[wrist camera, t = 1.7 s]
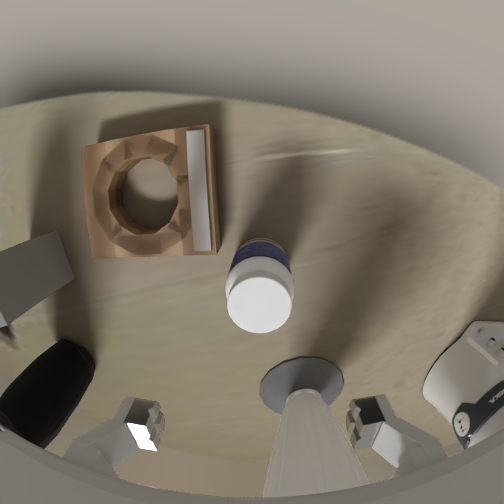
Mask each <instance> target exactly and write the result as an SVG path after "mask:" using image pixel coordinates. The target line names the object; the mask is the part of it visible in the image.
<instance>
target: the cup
mask: <svg viewBox="0 0 504 504" xmlns="http://www.w3.org/2000/svg"><path fill="white" fill-rule="evenodd" d="M343 384H344V381H343V377H342V372H341V371H340V370H339V369H338V368H337V367H336V366H335V365H334V364H333V363H331V362H328V361H325V360H323V359H320V358H297V359H293V360H290V361H286V362H283V363H281V364H280V365H278V366H277V367H275V368H273V369H272V370H270V371H269V372H268V373H267V375H266V376H265V378H264V379H263V380H262V382H261V385H260V396H261V398H262V400H263V402H264V404H265V405H266V406H267V407H269V408H270V409H271V410H273V411H274V412H276V413H280V414H282V416H281V419H280V422H279V425H278V429H277V433H276V437H275V441H274V445H273V448H272V453H271V458H270V462H269V467H268V472H267V476H266V481H265V485H264V491H263V496H262V497H286V496H299V495H309V494H317V493H325V492H331V491H338V490H343V489H349V488H354V487H358V486H363V485H367V484H370V482H369V480H368V478H367V476H366V473H365V471H364V469H363V467H362V465H361V463H360V461H359V459H358V457H357V455H356V453H355V451H354V450H353V447H352V445H351V443H350V441H349V439H348V438H347V436H346V434H345V432H344V431H343V429H342V427H341V426H340V424H339V422H338V421H337V419H336V417H335V416H334V414H333V413H332V411H331V410H330V409H329V407H328V406H329V405H331V404H332V403H333V402H334V401H335V399H336V398H337V397H338V396H339V395H340V393H341V390H342V387H343Z"/></svg>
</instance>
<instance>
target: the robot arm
mask: <svg viewBox="0 0 504 504" xmlns="http://www.w3.org/2000/svg"><path fill="white" fill-rule="evenodd" d="M423 395H424V398H425V399H426V400H427V401H428V402H430V403H431V404H432V405H433V406H434V407H436V409H437V410H438V411H439V412H440V413H441V414H442V415H443V416H444V417H445V418H446V419H447V421H448V422H449V423H450V424H451V425H452V426H453V428H454V431H455V434H456V436H457V438H458V440H459V442H460V443H461V445H462V447H463V448H464V450H463V451H461V452H459V453H457V454H454V455H452V456H450V457H448V456H447V454H446V452H445V450H444V449H443V447H442V445H441V443H440V441H439V439H438V438H436V437H434V436H432V435H430V434H429V433H427V432H425V431H423V430H421V429H419V428H417V427H416V426H414V425H412V424H410V423H408V422H407V421H405V420H403V419H401V418H397V417H396V415H395V413H394V411H393V409H392V407H391V405H390V403H389V401H388V399H387V397H386V395H384V394H381V395H376V396H370V397H365V398H359V399H353V400H351V401H350V405H349V407H350V410H349V411H348V412H347V416H346V427H347V431H348V432H349V433H351V434H352V435H351V438H350V441H351V444H352V447H353V450H356V449H362V448H368V447H371V448H373V449H374V450H375V451H376V452H377V453H379V454H380V455H381V456H382V457H383V458H385V459H386V460H387V461H388V462H389V463H391V464H392V465H393V466H394V467H396V468H397V469H396V471H395V472H394V473H393V475H392V476H391V478H390V479H386V480H383V481H379V482H375V483H372V484H367V485H363V486H358V487H354V488H349V489H343V490H338V491H331V492H325V493H317V494H309V495H299V496H286V497H260V498H259V497H255V498H254V497H253V498H252V497H223V496H210V495H201V494H192V493H185V492H178V491H172V490H166V489H161V488H156V487H151V486H147V485H143V484H138V483H134V482H130V481H127V480H123V479H120V477H119V476H118V474H117V473H116V472H115V471H114V469H115V468H116V467H117V466H118V465H120V464H121V463H122V462H124V461H125V460H126V459H127V458H128V457H130V456H131V455H132V454H133V453H135V452H136V451H137V450H138V449H139V448H143V449H149V450H156V451H157V449H158V446H159V443H160V438H159V435H160V434H162V433H163V431H164V427H165V419H164V415H163V413H162V412H160V408H161V406H160V404H159V402H157V401H151V400H145V399H140V398H134V397H128V396H127V397H125V398H124V400H123V402H122V404H121V405H120V407H119V409H118V411H117V413H116V415H115V417H114V418H113V420H108V421H106V422H105V423H103V424H101V425H99V426H97V427H96V428H94V429H92V430H90V431H88V432H86V433H85V434H83V435H81V436H79V437H77V438H75V439H73V440H72V442H71V443H70V445H69V447H68V449H67V450H66V452H65V454H64V455H63V457H62V458H61V457H59V456H57V455H55V454H53V453H51V452H48V451H46V450H44V449H42V448H40V447H38V446H37V445H35V444H33V443H31V442H29V441H27V440H25V439H24V438H22V437H20V436H18V435H17V434H15V433H13V432H11V431H9V430H3V431H0V504H504V322H493V321H474V322H473V323H472V324H471V325H470V326H469V327H468V328H467V330H466V331H465V332H464V334H463V335H462V337H461V338H460V339H459V340H458V341H457V342H455V343H454V344H453V345H452V346H451V347H450V348H448V349H447V350H446V351H445V352H444V353H443V354H442V356H441V357H440V358H439V359H438V360H437V362H436V363H435V364H434V366H433V367H432V369H431V370H430V372H429V374H428V376H427V378H426V380H425V383H424V387H423Z"/></svg>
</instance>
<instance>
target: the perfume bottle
mask: <svg viewBox="0 0 504 504" xmlns="http://www.w3.org/2000/svg"><path fill="white" fill-rule="evenodd" d="M73 279H75V276H74V273H73V271H72V268H71V266H70V263H69V261H68V258H67V255H66V253H65V250H64V247H63V244H62V242H61V239H60V236H59V233H58V230H55V231H52V232H49V233H47V234H44V235H41V236H39V237H36V238H33V239H31V240H28V241H26V242H23V243H20V244H18V245H15V246H13V247H10V248H8V249H6V250H3V251H1V252H0V327H3V326H7V325H9V324H10V323H11V322H13V321H14V320H15V319H17V318H18V317H19V316H21V315H22V314H23V313H25V312H26V311H28V310H29V309H30V308H32V307H33V306H35V305H36V304H38V303H39V302H40V301H42V300H43V299H45V298H46V297H48V296H49V295H51V294H52V293H54V292H55V291H57V290H58V289H60V288H61V287H63V286H64V285H66V284H67V283H69V282H70V281H72V280H73Z"/></svg>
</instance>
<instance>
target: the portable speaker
mask: <svg viewBox="0 0 504 504" xmlns="http://www.w3.org/2000/svg"><path fill="white" fill-rule="evenodd" d="M94 370H95V365H94V361H93V358H92V357H91V356H90V354H89V353H88V352H87V351H86V349H85V348H84V347H77V346H75V345H72V344H70V343H68V342H65V339H61V340H60V341H59V342H58V343H55V344H54V345H53V346H51V347H50V348H49V349H48V350H46V351H45V352H44V353H42V354H41V355H40V356H39V357H37V358H36V359H35V360H34V361H33V362H32V363H31V364H30V365H29V366H28V367H27V368H26V369H25V370H24V371H23V372H22V373H21V374H20V375H19V376H18V377H17V378H16V379H15V380H14V381H13V382H12V383H11V385H10V386H9V387H8V388H7V389H6V390H5V392H4V393H3V394H2V396H1V397H0V431H3V430H9V431H11V432H13V433H15V434H17V435H18V436H20V437H22V438H24V439H25V440H27V441H29V442H31V443H33V444H35V445H37V446H38V447H40V448H42V449H45V448H46V447H47V446H48V445H49V443H50V442H51V441H52V440H53V439H54V438H55V437H56V436H57V435H58V433H59V432H60V430H61V429H62V427H63V426H64V424H65V423H66V421H67V420H68V418H69V417H70V416H71V414H72V413H73V411H74V410H75V408H76V407H77V405H78V404H79V402H80V400H81V399H82V397H83V395H84V393H85V391H86V390H87V388H88V386H89V384H90V383H91V381H92V379H93V376H94V375H93V374H94Z"/></svg>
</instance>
